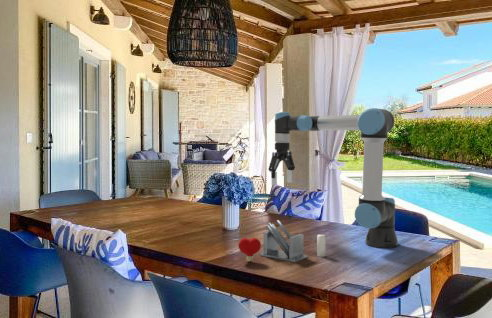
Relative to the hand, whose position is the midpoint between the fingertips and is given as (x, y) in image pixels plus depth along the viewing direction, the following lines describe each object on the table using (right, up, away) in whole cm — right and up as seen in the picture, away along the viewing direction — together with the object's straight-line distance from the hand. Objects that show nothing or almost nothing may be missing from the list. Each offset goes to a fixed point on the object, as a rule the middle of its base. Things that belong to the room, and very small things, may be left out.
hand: (281, 183), depth 251 cm
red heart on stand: (-17, -30, -48) cm, 59 cm away
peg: (+14, -30, -38) cm, 50 cm away
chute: (-2, -30, -39) cm, 49 cm away
